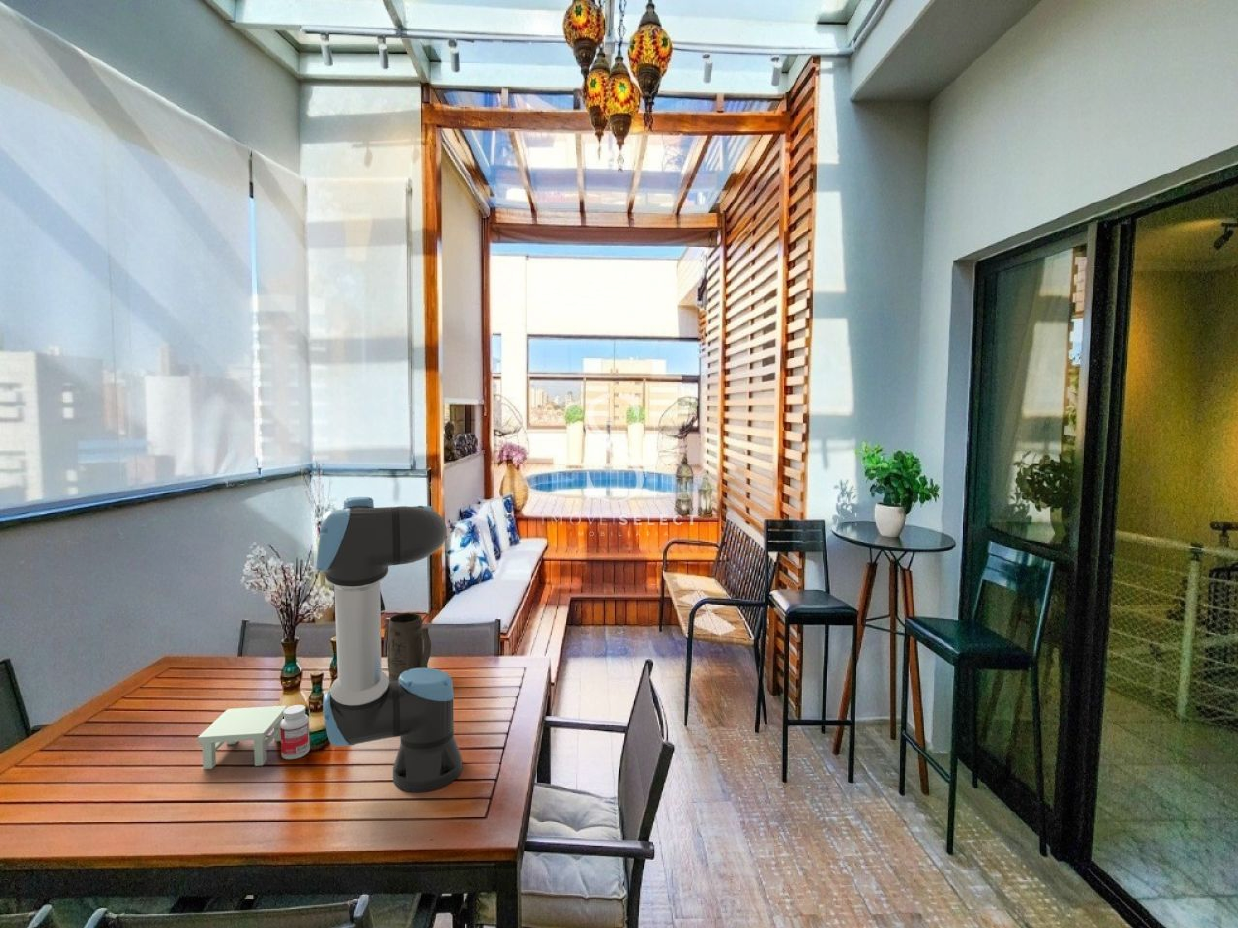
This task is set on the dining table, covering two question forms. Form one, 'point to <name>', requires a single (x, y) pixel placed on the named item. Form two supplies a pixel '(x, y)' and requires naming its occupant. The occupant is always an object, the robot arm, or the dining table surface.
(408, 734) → the robot arm
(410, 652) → the beer stein
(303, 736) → the pill bottle
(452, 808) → the dining table surface
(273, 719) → the footstool
